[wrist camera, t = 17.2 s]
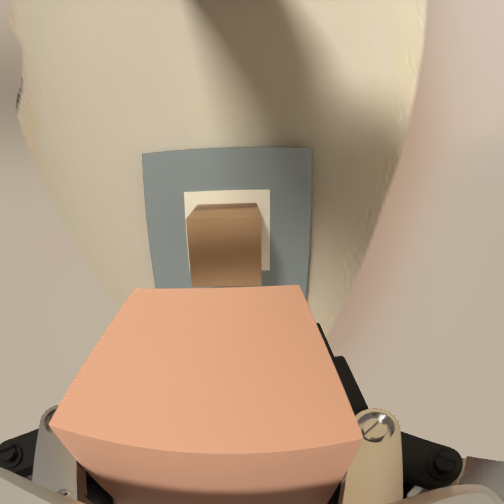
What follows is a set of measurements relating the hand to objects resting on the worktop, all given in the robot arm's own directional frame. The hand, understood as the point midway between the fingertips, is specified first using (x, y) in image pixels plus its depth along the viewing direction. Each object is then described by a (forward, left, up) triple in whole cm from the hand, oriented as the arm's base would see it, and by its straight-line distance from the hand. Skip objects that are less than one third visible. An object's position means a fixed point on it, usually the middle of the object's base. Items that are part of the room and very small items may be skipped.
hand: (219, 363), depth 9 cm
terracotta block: (0, 0, -1) cm, 1 cm away
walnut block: (0, 0, -19) cm, 19 cm away
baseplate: (0, 0, -20) cm, 20 cm away
